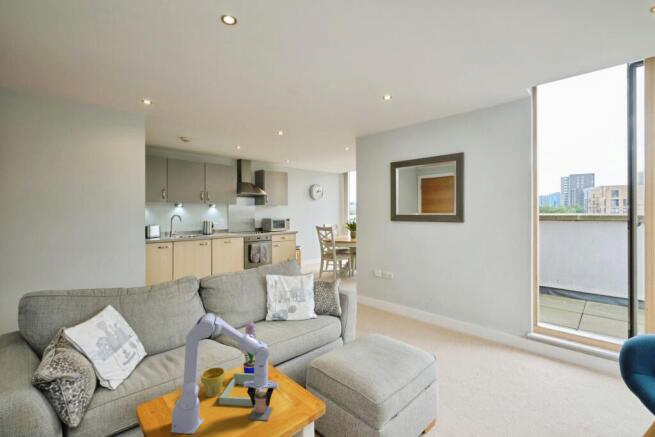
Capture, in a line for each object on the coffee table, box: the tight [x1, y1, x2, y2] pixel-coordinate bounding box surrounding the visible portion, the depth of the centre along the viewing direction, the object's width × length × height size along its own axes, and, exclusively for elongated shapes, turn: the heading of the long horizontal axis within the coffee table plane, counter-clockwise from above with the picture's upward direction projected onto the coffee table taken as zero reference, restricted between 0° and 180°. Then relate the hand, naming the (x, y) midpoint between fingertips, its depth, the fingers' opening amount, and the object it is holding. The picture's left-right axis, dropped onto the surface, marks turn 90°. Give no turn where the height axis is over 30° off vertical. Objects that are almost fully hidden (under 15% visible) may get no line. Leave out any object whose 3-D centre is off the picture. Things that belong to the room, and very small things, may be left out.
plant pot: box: [200, 366, 226, 398], centre depth 140 cm, size 10×10×10 cm
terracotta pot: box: [254, 390, 267, 413], centre depth 126 cm, size 6×6×6 cm
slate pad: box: [248, 406, 274, 422], centre depth 125 cm, size 8×8×1 cm
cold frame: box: [218, 372, 267, 407], centre depth 139 cm, size 17×17×5 cm
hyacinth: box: [242, 320, 257, 374], centre depth 154 cm, size 9×10×30 cm
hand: (261, 404), depth 125 cm, fingers closed on terracotta pot, 5 cm apart
